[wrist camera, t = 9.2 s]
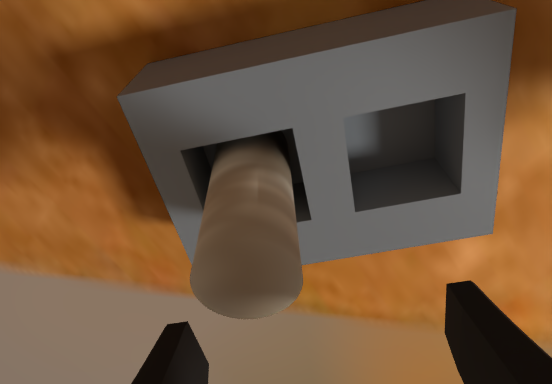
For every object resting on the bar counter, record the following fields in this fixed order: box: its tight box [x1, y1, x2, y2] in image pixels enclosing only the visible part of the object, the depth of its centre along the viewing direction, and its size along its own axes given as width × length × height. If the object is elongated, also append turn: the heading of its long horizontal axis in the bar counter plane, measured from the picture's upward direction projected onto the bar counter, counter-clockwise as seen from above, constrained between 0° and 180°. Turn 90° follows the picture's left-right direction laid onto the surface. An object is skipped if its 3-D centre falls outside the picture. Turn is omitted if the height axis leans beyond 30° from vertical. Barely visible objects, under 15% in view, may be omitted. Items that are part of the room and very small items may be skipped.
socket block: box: [117, 0, 517, 265], centre depth 17 cm, size 13×9×4 cm
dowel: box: [190, 130, 303, 319], centre depth 15 cm, size 3×3×8 cm
